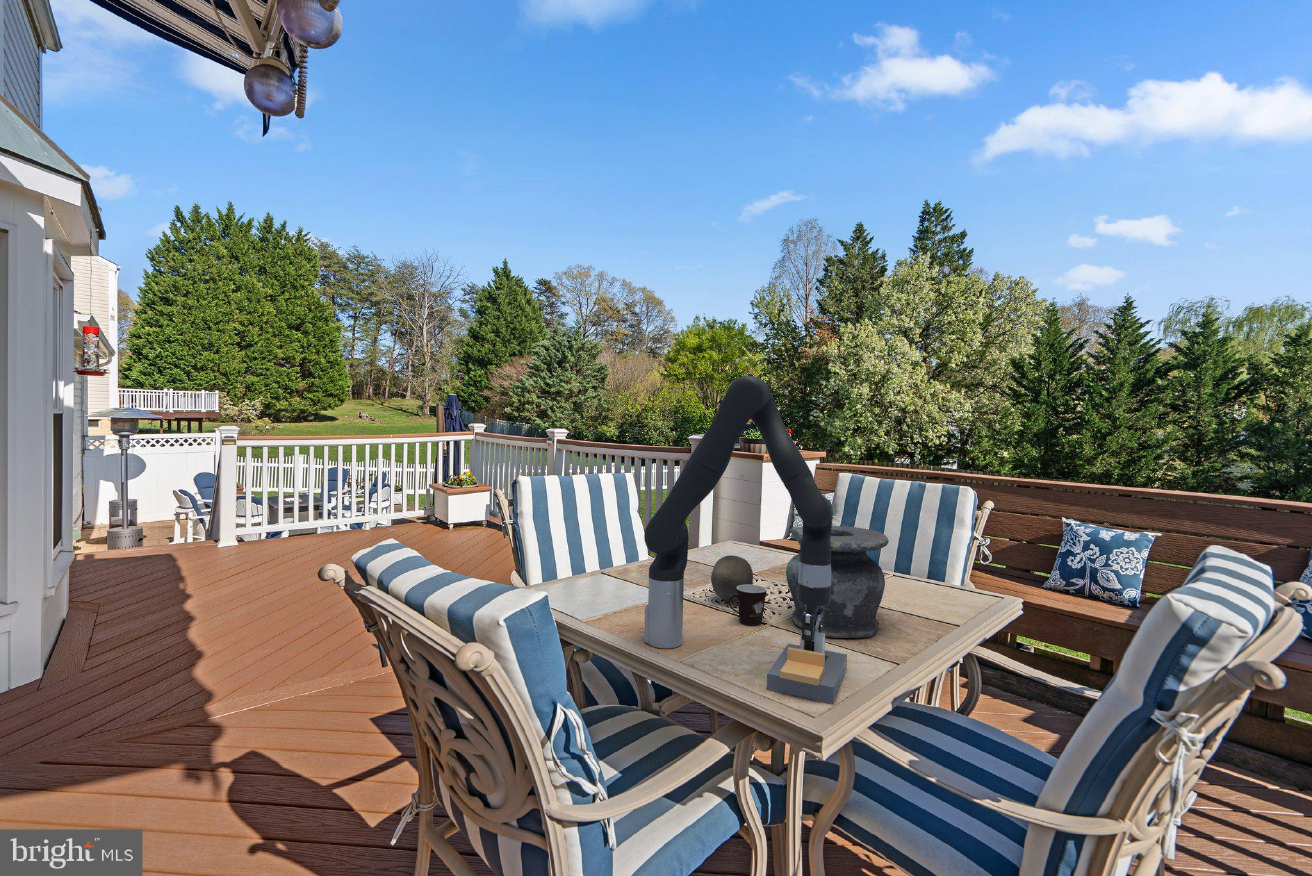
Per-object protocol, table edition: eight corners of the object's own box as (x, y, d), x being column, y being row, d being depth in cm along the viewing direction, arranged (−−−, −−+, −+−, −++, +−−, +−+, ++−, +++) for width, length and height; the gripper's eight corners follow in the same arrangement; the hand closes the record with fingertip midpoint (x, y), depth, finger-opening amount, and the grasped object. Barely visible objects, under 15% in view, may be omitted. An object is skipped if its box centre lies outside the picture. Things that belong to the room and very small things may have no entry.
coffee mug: (762, 617, 174) (763, 584, 174) (768, 627, 165) (769, 593, 165) (723, 617, 174) (724, 584, 173) (728, 627, 165) (729, 592, 165)
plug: (799, 673, 135) (800, 635, 135) (802, 667, 138) (803, 629, 138) (821, 677, 133) (822, 638, 133) (824, 671, 136) (825, 633, 136)
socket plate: (766, 689, 126) (767, 673, 126) (787, 657, 144) (788, 643, 144) (833, 704, 120) (833, 687, 120) (846, 668, 138) (847, 654, 138)
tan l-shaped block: (779, 677, 124) (780, 659, 124) (788, 664, 131) (788, 647, 131) (818, 685, 120) (818, 667, 120) (824, 671, 128) (825, 653, 127)
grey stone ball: (701, 598, 192) (702, 553, 192) (737, 594, 198) (738, 550, 198) (724, 610, 180) (725, 562, 179) (762, 606, 186) (763, 559, 185)
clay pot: (899, 613, 176) (898, 518, 172) (875, 660, 151) (874, 550, 147) (805, 597, 192) (802, 509, 188) (770, 636, 167) (766, 537, 163)
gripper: (804, 572, 143) (802, 638, 144) (791, 586, 130) (789, 658, 131) (835, 577, 140) (833, 643, 140) (825, 591, 127) (823, 664, 127)
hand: (812, 650), depth 135 cm, fingers open, 8 cm apart
